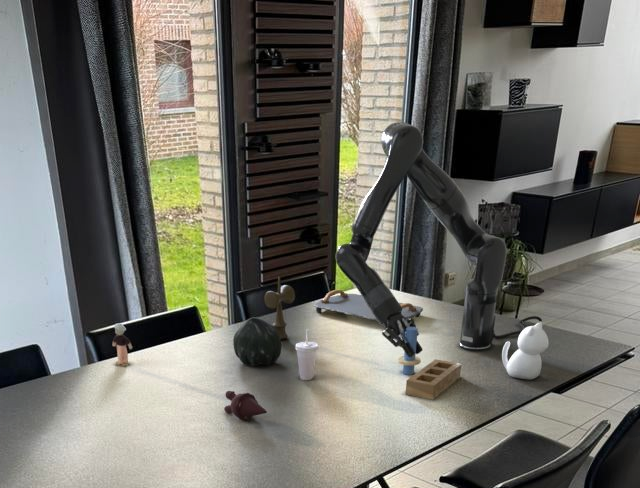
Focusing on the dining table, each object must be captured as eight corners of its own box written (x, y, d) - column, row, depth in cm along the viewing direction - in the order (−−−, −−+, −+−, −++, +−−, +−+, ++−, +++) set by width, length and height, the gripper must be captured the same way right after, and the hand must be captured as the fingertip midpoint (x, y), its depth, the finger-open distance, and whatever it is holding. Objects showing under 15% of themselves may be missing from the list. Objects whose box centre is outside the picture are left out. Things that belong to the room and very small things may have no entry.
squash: (280, 334, 229) (249, 301, 220) (297, 349, 217) (265, 316, 208) (248, 366, 231) (216, 336, 222) (263, 384, 219) (230, 352, 210)
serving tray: (306, 311, 270) (306, 294, 267) (345, 299, 284) (346, 283, 281) (392, 331, 246) (393, 313, 243) (430, 316, 260) (432, 299, 257)
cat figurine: (534, 385, 200) (544, 331, 193) (491, 375, 208) (499, 323, 200) (547, 376, 206) (557, 323, 198) (505, 367, 213) (513, 315, 206)
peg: (407, 367, 215) (411, 323, 209) (424, 373, 211) (428, 328, 204) (392, 372, 212) (395, 328, 205) (409, 378, 207) (412, 333, 201)
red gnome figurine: (278, 397, 180) (237, 387, 190) (256, 398, 175) (216, 388, 185) (275, 425, 182) (235, 414, 192) (254, 426, 177) (213, 415, 187)
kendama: (295, 336, 244) (295, 275, 234) (278, 343, 238) (277, 281, 228) (281, 333, 248) (280, 272, 237) (263, 340, 241) (262, 278, 231)
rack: (433, 372, 211) (435, 359, 209) (460, 377, 207) (461, 363, 205) (405, 394, 197) (406, 380, 195) (432, 399, 193) (434, 385, 191)
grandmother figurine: (109, 365, 224) (104, 324, 217) (116, 361, 227) (111, 320, 220) (131, 367, 221) (126, 326, 215) (138, 363, 224) (133, 322, 218)
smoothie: (318, 374, 212) (318, 326, 205) (317, 381, 207) (318, 333, 200) (295, 373, 213) (296, 326, 206) (294, 381, 207) (294, 333, 200)
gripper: (377, 301, 201) (411, 353, 200) (404, 291, 210) (438, 340, 209) (360, 317, 206) (394, 367, 205) (388, 306, 215) (420, 354, 214)
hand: (416, 353), depth 207 cm, fingers closed on peg, 3 cm apart
